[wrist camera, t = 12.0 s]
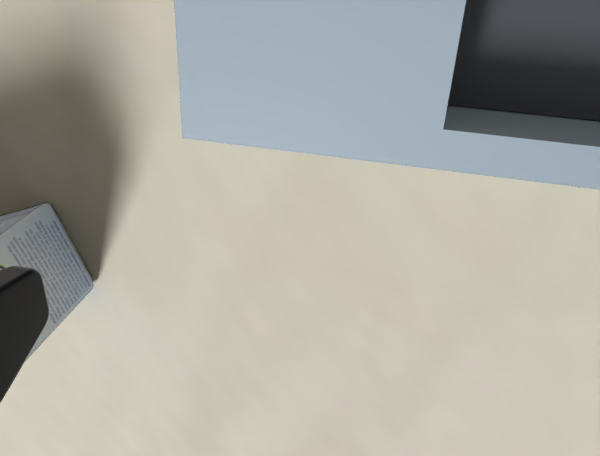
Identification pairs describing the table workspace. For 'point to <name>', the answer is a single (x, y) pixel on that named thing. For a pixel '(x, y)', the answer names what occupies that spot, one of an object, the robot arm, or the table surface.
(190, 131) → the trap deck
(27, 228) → the medicine box
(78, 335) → the table surface
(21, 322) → the robot arm
